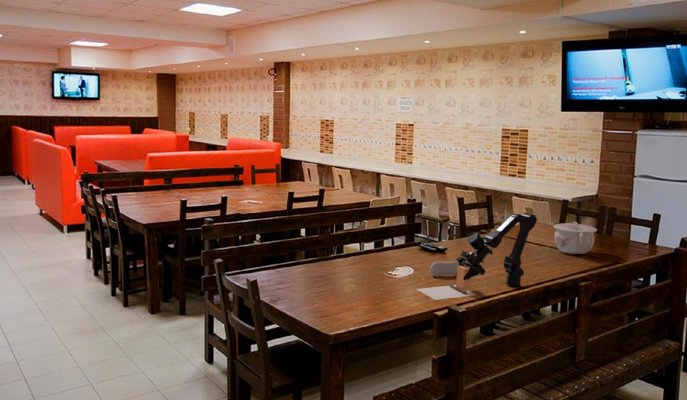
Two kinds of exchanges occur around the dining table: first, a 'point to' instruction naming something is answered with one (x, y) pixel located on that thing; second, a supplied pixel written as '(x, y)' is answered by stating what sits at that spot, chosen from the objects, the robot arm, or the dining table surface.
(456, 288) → the long brown bar
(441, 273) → the grey rounded panel
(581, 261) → the dining table surface
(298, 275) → the dining table surface
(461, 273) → the orange block
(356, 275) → the dining table surface
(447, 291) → the mat
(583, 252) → the chamber pot
